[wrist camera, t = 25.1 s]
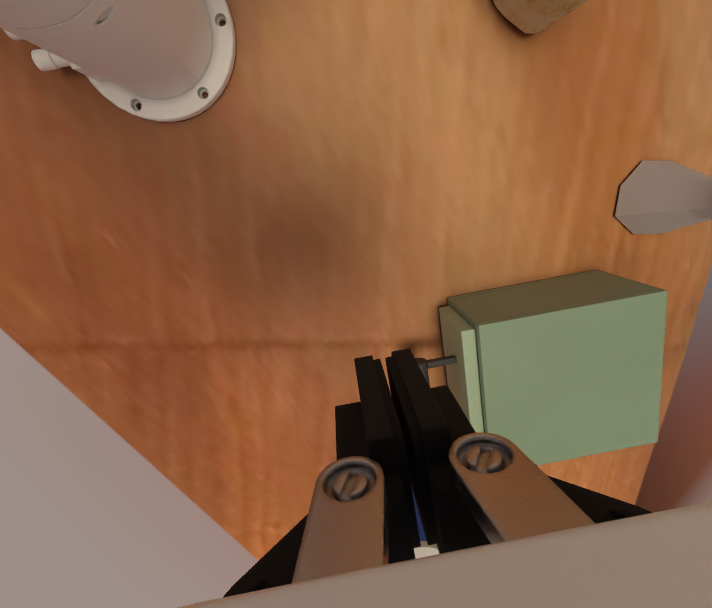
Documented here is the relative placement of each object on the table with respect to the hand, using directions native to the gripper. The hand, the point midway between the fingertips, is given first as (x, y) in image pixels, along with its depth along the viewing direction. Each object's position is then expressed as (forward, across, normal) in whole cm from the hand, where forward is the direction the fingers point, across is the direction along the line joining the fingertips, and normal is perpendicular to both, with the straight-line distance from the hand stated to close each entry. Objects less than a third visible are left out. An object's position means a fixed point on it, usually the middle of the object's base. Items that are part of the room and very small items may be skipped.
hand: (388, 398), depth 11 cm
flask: (+27, -30, 0) cm, 41 cm away
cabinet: (+27, -17, +14) cm, 35 cm away
